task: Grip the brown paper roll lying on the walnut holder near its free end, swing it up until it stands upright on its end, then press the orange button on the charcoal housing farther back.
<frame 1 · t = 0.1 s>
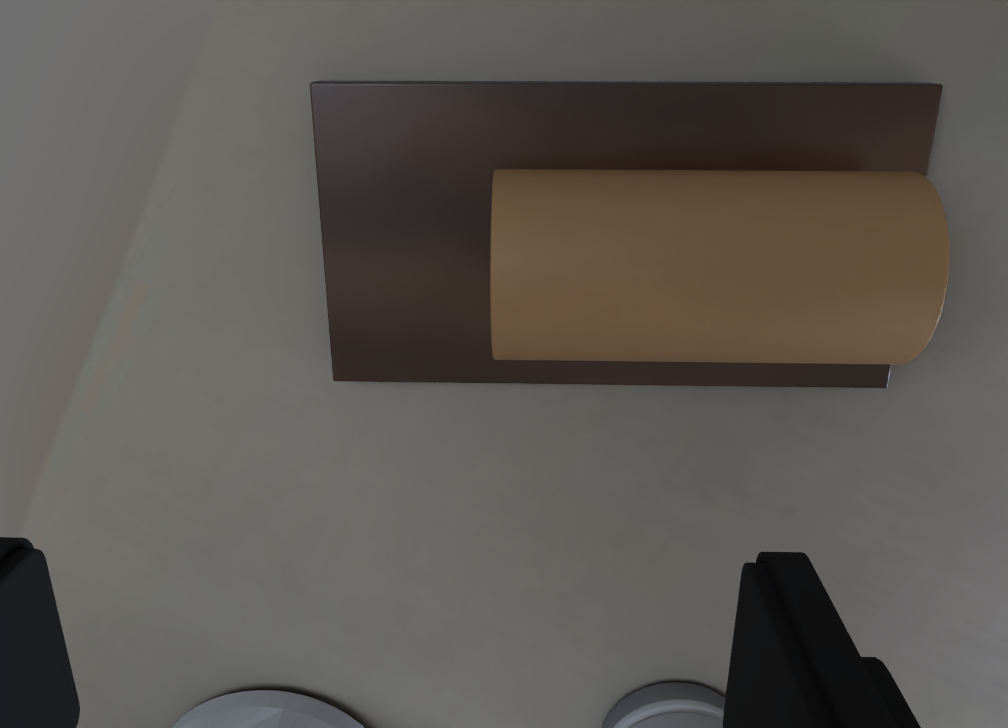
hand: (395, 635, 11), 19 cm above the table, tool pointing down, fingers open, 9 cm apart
holder: (612, 237, 29), on the table
paper roll: (698, 267, 25), point 4 cm above the table, hinge at 0.0°
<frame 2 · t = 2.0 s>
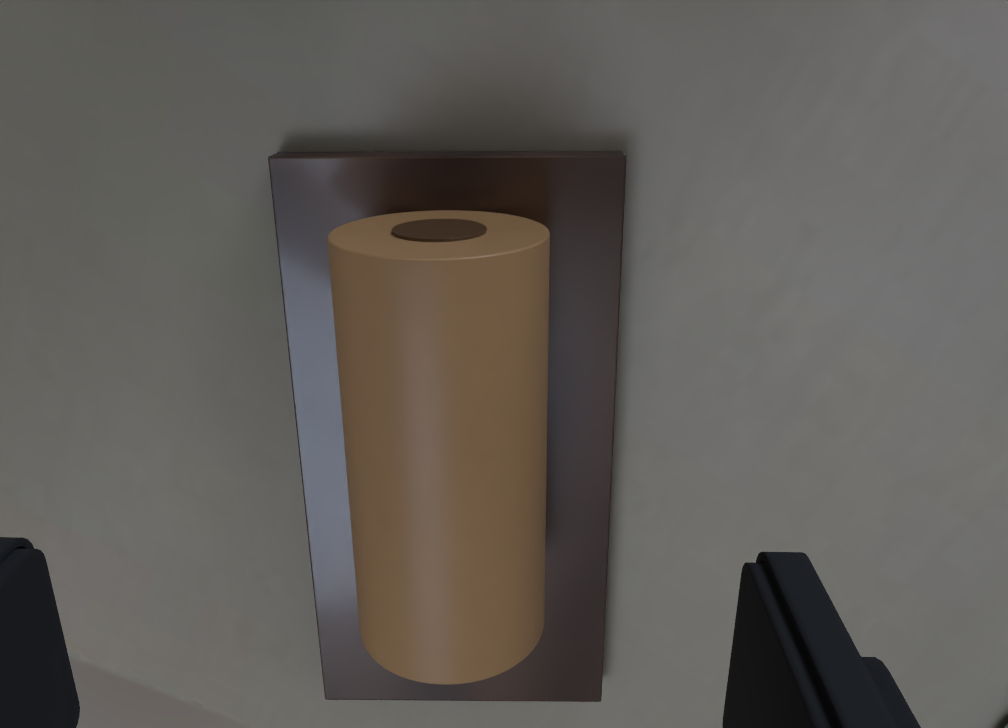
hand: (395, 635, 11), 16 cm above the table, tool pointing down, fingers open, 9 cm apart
holder: (457, 449, 28), on the table
paper roll: (446, 442, 24), point 4 cm above the table, hinge at 0.0°
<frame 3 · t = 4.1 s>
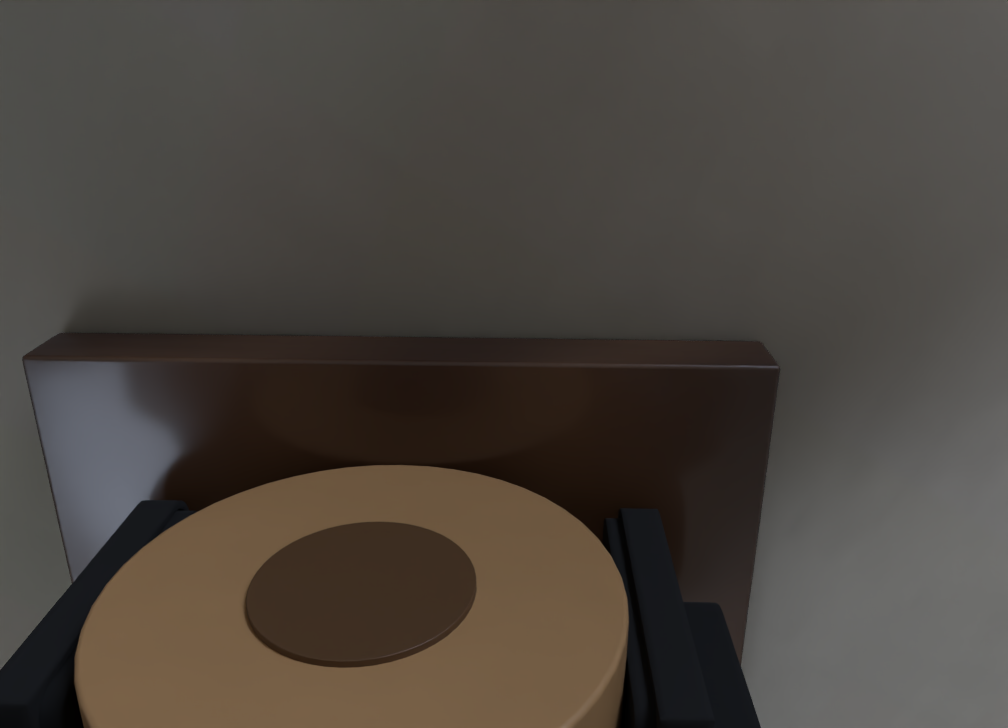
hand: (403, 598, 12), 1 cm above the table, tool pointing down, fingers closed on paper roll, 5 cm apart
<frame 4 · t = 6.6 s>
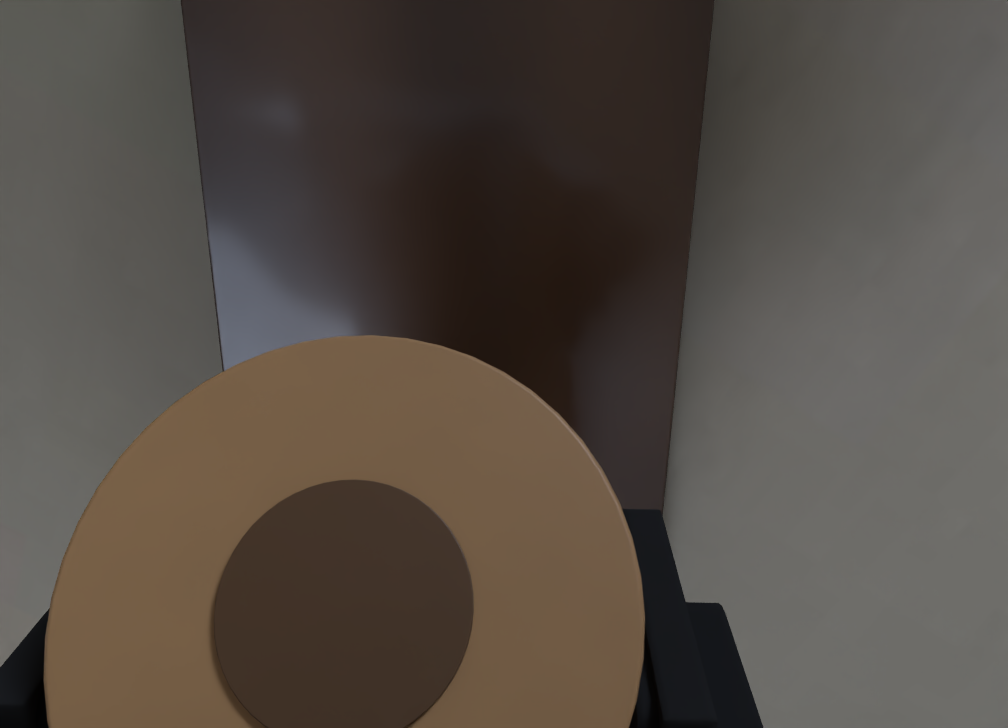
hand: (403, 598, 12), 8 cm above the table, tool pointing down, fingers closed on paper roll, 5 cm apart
holder: (451, 372, 20), on the table
paper roll: (413, 646, 13), point 7 cm above the table, hinge at 46.6°, touching gripper
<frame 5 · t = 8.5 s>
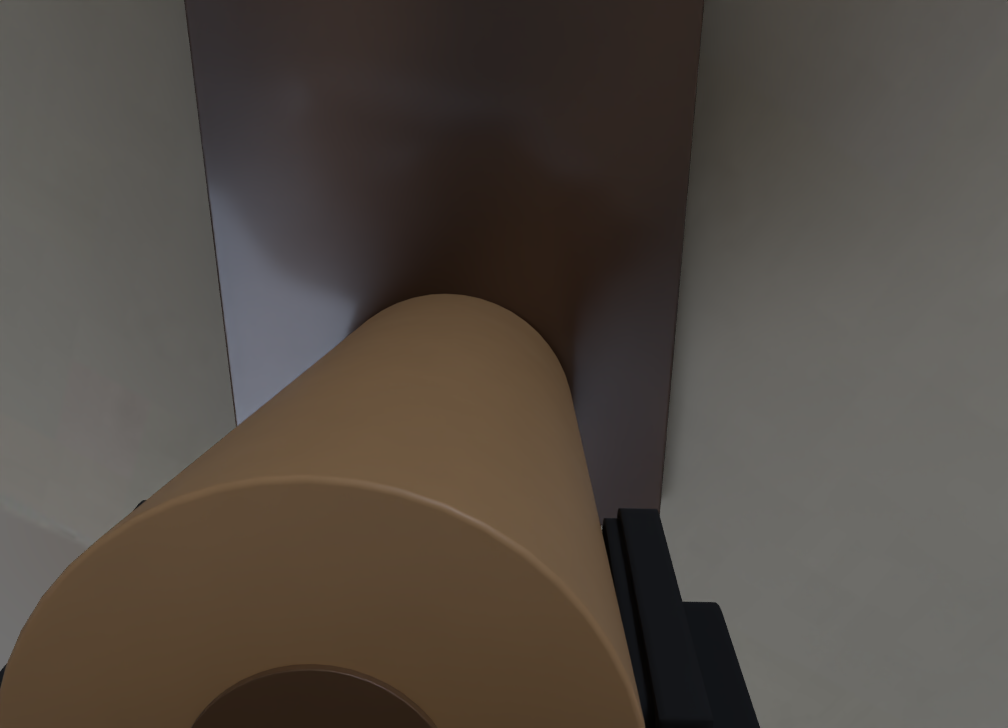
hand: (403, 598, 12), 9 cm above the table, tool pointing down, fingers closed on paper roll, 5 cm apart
holder: (448, 104, 18), on the table
paper roll: (412, 521, 13), point 7 cm above the table, hinge at 79.9°, touching gripper
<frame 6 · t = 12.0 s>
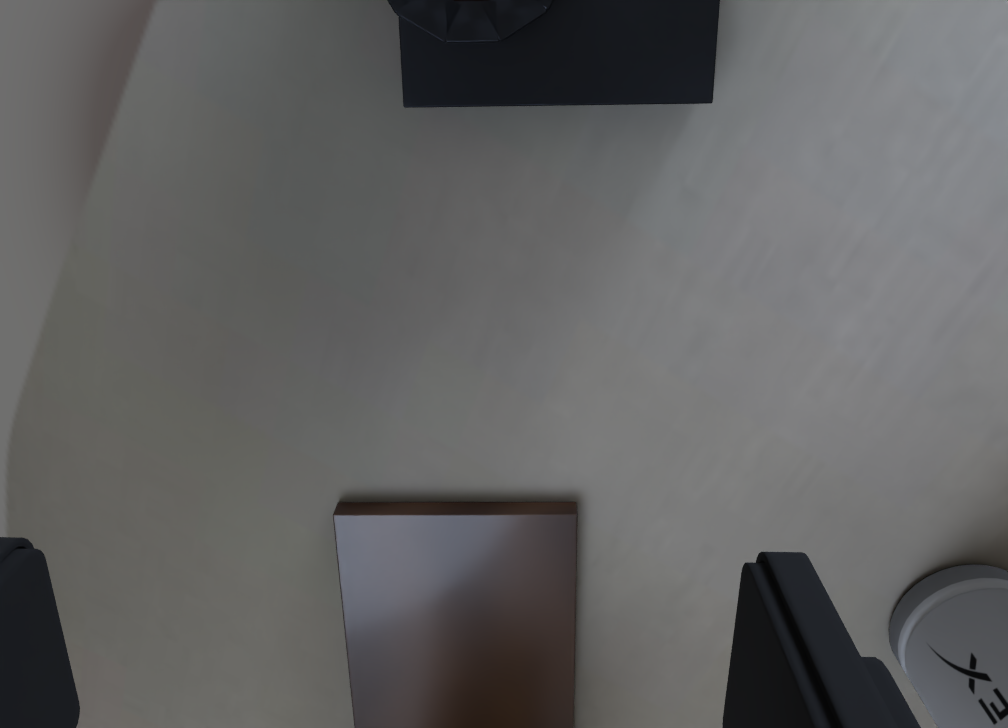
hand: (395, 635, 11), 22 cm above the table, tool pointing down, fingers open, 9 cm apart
holder: (463, 684, 39), on the table
travel mug: (961, 617, 37), on the table
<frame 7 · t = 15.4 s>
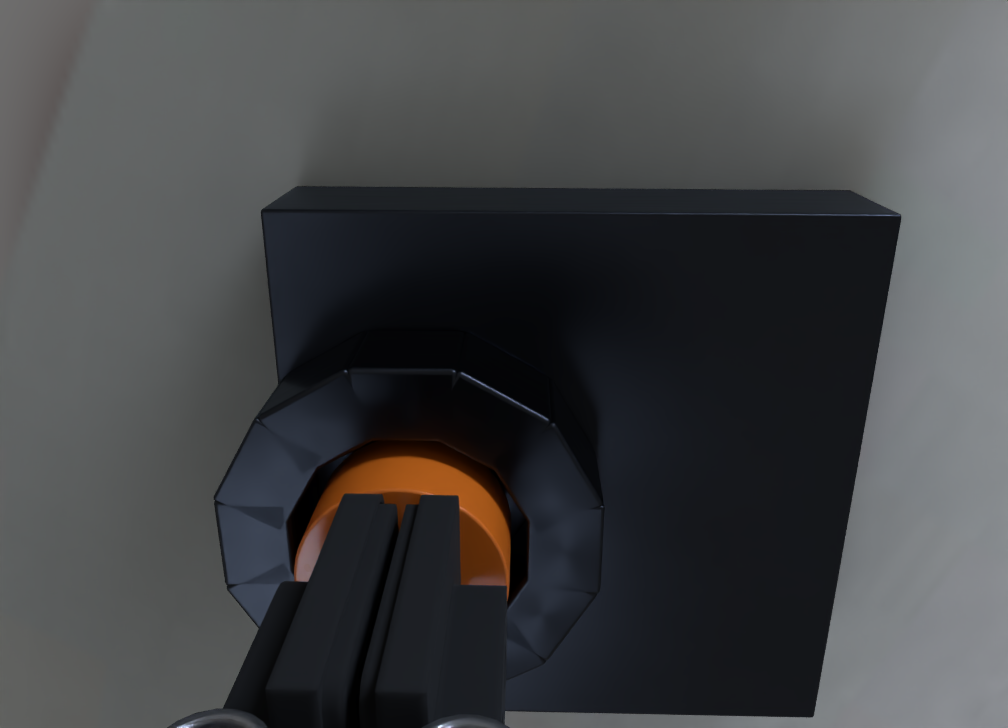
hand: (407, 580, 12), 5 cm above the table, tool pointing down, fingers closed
button box: (563, 437, 17), on the table
button: (408, 550, 13), point 4 cm above the table, slide at -0.3 cm, touching gripper
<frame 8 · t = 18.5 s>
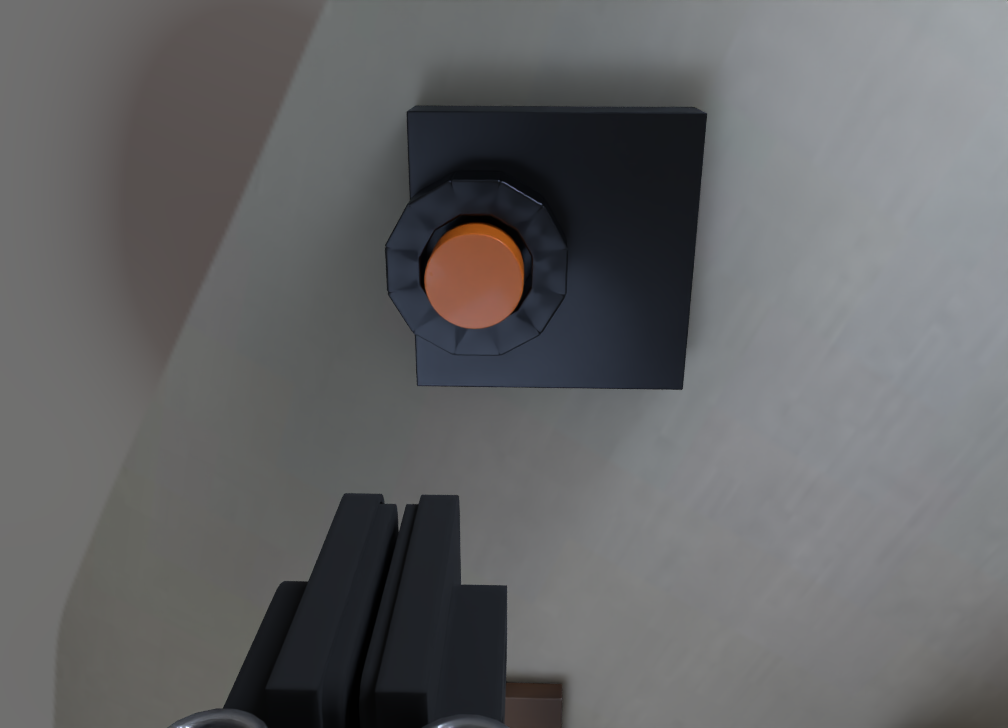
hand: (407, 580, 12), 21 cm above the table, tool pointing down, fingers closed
button box: (551, 243, 32), on the table
button: (475, 275, 28), point 4 cm above the table, slide at 0.1 cm
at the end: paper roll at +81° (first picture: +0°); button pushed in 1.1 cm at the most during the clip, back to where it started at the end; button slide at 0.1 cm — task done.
